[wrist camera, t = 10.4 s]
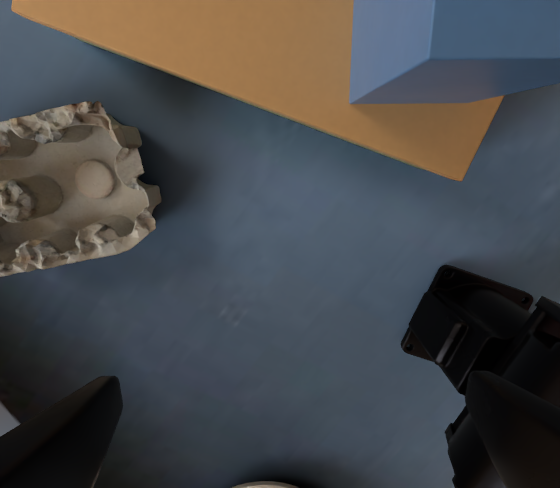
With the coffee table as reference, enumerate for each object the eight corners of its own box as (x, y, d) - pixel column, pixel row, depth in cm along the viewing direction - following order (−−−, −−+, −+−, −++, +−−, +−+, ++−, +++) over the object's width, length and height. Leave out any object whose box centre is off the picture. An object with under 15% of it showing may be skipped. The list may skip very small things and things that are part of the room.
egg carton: (137, 102, 19) (101, 91, 15) (176, 231, 21) (153, 251, 17) (-44, 142, 19) (-126, 141, 15) (11, 264, 21) (-48, 291, 17)
